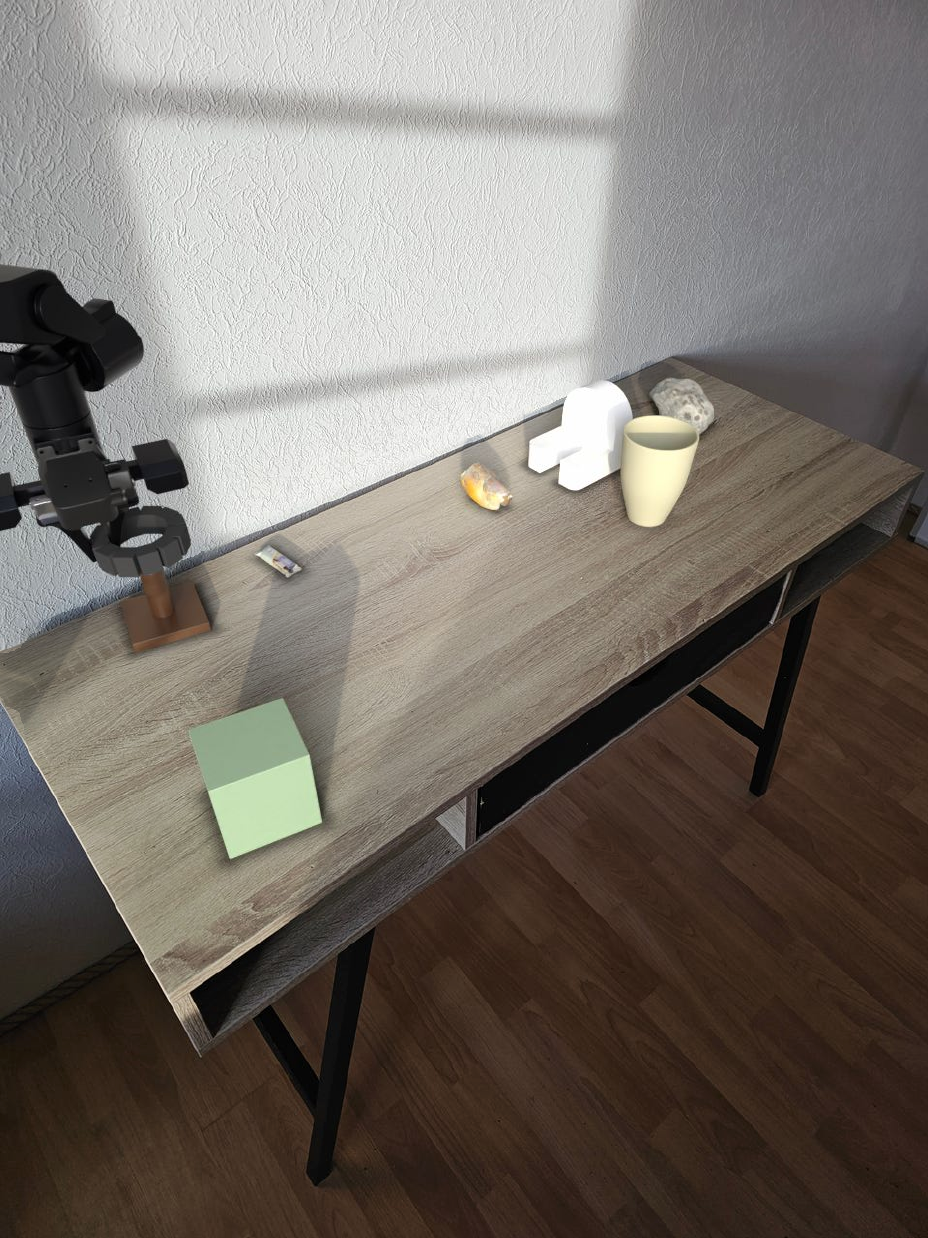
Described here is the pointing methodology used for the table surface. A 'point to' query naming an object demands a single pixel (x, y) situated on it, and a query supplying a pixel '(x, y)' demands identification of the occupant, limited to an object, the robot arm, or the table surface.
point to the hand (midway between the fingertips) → (105, 557)
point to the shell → (485, 487)
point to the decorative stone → (683, 402)
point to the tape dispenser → (584, 436)
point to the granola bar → (278, 561)
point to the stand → (163, 613)
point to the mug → (655, 466)
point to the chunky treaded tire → (145, 556)
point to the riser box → (257, 776)
